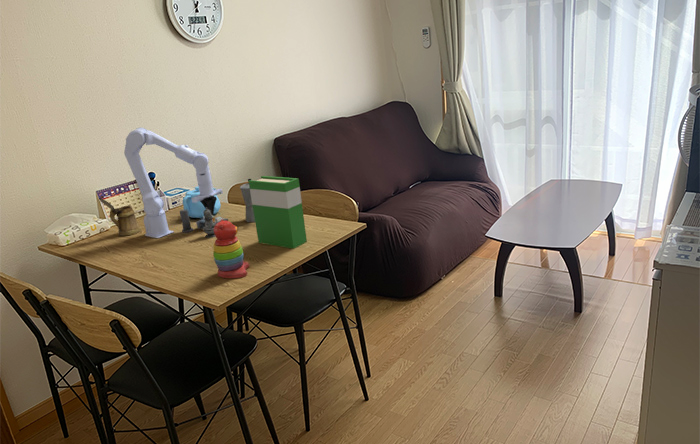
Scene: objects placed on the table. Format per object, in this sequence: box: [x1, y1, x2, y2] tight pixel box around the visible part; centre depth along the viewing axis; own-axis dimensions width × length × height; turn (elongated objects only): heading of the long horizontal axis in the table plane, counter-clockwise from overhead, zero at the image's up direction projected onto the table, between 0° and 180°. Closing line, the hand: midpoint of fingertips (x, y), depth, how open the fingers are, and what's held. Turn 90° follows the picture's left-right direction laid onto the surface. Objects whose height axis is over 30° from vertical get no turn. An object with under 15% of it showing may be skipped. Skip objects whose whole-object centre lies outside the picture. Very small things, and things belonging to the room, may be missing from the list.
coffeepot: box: [239, 178, 255, 223], centre depth 221 cm, size 15×9×18 cm, turn 37°
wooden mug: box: [99, 197, 142, 237], centre depth 220 cm, size 9×14×18 cm, turn 139°
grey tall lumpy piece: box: [202, 208, 216, 239], centre depth 207 cm, size 6×6×12 cm
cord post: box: [179, 209, 194, 234], centre depth 217 cm, size 4×4×9 cm
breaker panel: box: [196, 215, 229, 230], centre depth 219 cm, size 11×8×4 cm
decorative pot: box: [182, 185, 222, 220], centre depth 237 cm, size 16×16×14 cm
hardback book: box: [248, 175, 308, 250], centre depth 190 cm, size 18×7×24 cm, turn 55°
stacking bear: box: [213, 219, 250, 279], centre depth 167 cm, size 11×10×18 cm
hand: (211, 214), depth 218 cm, fingers closed
